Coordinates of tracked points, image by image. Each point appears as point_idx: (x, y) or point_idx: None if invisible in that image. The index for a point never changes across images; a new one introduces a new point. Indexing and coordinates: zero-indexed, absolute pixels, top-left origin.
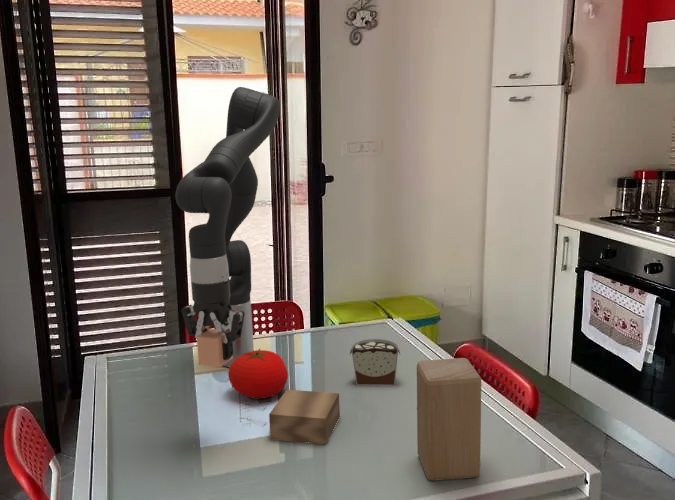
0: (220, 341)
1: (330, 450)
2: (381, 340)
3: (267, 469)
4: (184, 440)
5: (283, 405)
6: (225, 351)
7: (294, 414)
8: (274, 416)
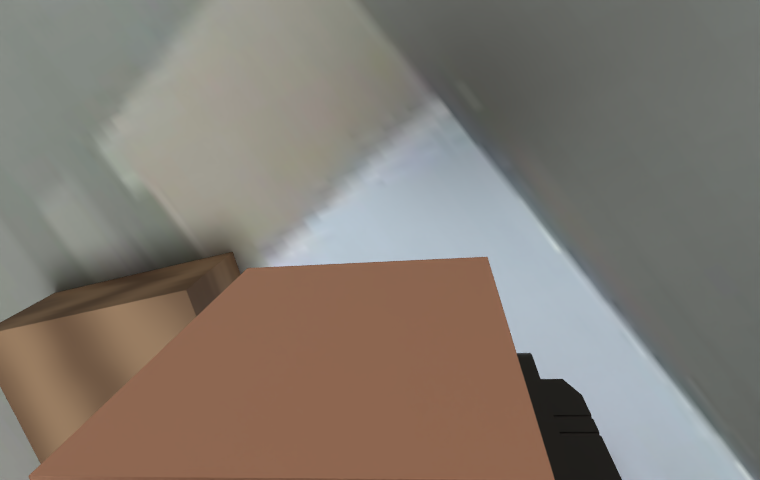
0: None
1: (20, 264)
2: None
3: (109, 71)
4: (534, 112)
5: None
6: None
7: (95, 324)
8: (168, 290)
